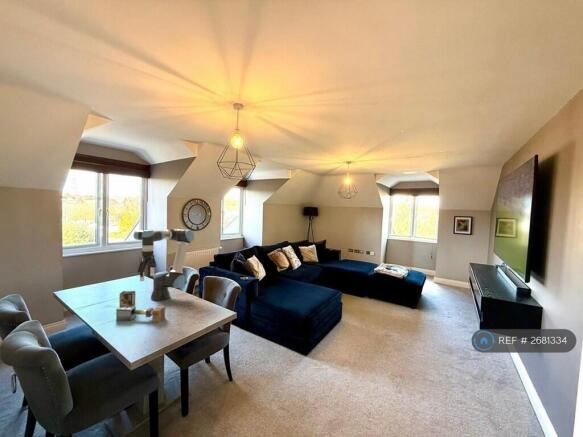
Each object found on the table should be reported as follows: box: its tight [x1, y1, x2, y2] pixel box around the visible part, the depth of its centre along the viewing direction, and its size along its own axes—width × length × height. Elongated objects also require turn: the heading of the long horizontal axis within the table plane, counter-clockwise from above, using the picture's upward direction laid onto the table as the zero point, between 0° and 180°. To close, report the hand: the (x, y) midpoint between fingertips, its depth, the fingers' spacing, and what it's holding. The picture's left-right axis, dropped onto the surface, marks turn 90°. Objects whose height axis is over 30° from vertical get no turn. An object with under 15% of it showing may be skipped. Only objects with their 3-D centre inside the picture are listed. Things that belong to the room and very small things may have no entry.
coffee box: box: [119, 290, 136, 307], centre depth 188 cm, size 9×6×16 cm
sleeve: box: [115, 305, 137, 322], centre depth 177 cm, size 6×10×8 cm, turn 91°
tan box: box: [151, 305, 166, 324], centre depth 178 cm, size 8×5×9 cm, turn 1°
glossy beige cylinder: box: [134, 307, 154, 318], centre depth 178 cm, size 5×17×5 cm, turn 91°
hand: (147, 278), depth 184 cm, fingers open, 13 cm apart
